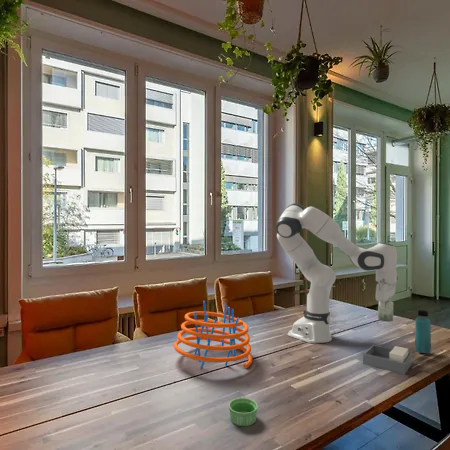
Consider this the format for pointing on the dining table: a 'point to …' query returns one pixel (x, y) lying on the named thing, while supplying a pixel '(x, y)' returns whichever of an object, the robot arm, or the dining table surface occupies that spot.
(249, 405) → the ramekin
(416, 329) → the beverage bottle
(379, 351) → the tote
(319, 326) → the robot arm
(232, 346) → the orange spiral coil rods
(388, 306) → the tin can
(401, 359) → the cream rectangular block
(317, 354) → the dining table surface
